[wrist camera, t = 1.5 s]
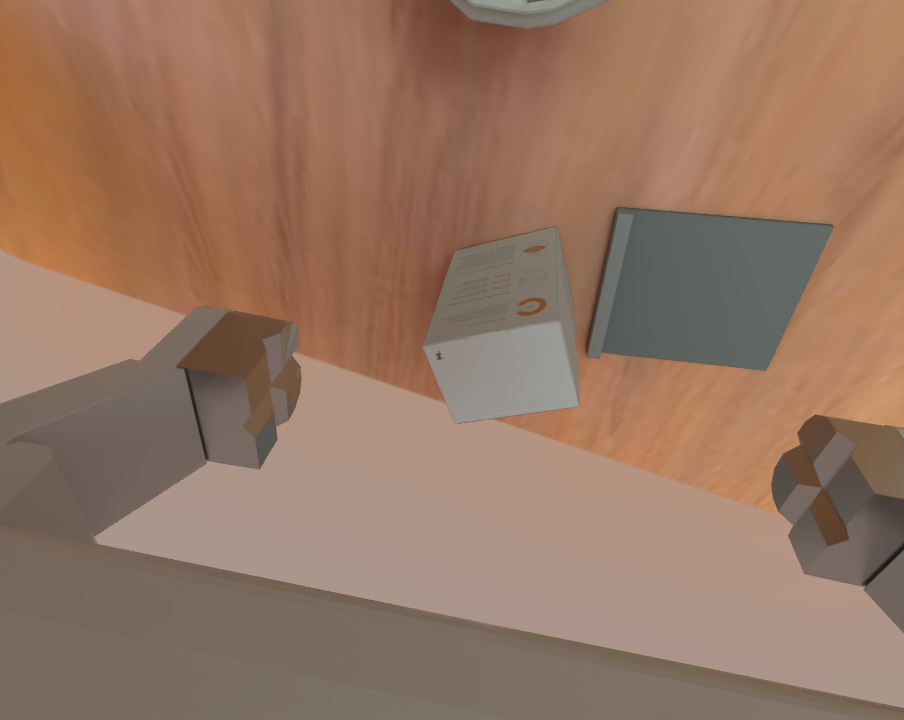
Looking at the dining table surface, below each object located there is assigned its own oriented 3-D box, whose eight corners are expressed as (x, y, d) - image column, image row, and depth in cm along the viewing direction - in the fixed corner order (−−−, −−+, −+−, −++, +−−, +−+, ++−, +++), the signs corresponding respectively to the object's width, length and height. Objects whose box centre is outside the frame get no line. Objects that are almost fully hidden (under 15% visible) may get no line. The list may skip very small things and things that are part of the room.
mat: (586, 348, 45) (587, 357, 44) (617, 207, 38) (618, 213, 37) (765, 368, 43) (769, 377, 42) (832, 224, 36) (839, 231, 35)
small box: (476, 319, 45) (451, 427, 34) (452, 249, 41) (417, 345, 31) (575, 299, 42) (582, 409, 32) (559, 223, 39) (559, 319, 29)
